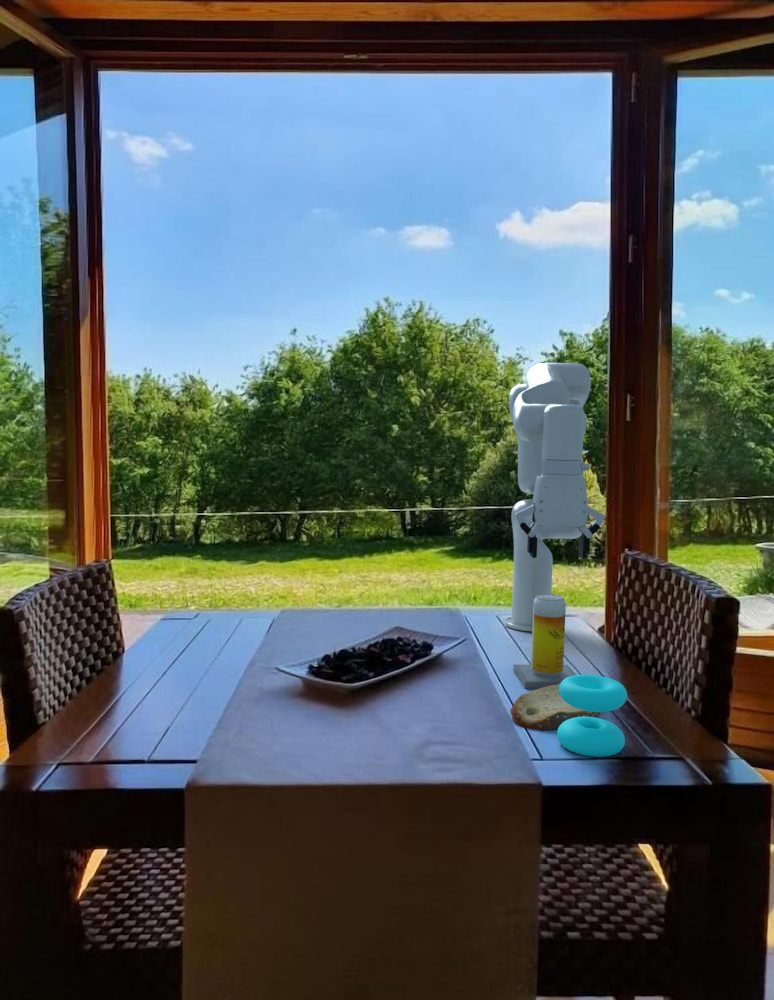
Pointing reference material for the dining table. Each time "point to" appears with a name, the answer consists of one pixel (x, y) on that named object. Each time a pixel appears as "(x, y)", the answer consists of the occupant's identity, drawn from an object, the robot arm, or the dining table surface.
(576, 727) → the donuts
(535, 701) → the bread slice
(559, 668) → the beer can
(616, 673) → the dining table surface
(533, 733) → the dining table surface
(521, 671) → the slate coaster
